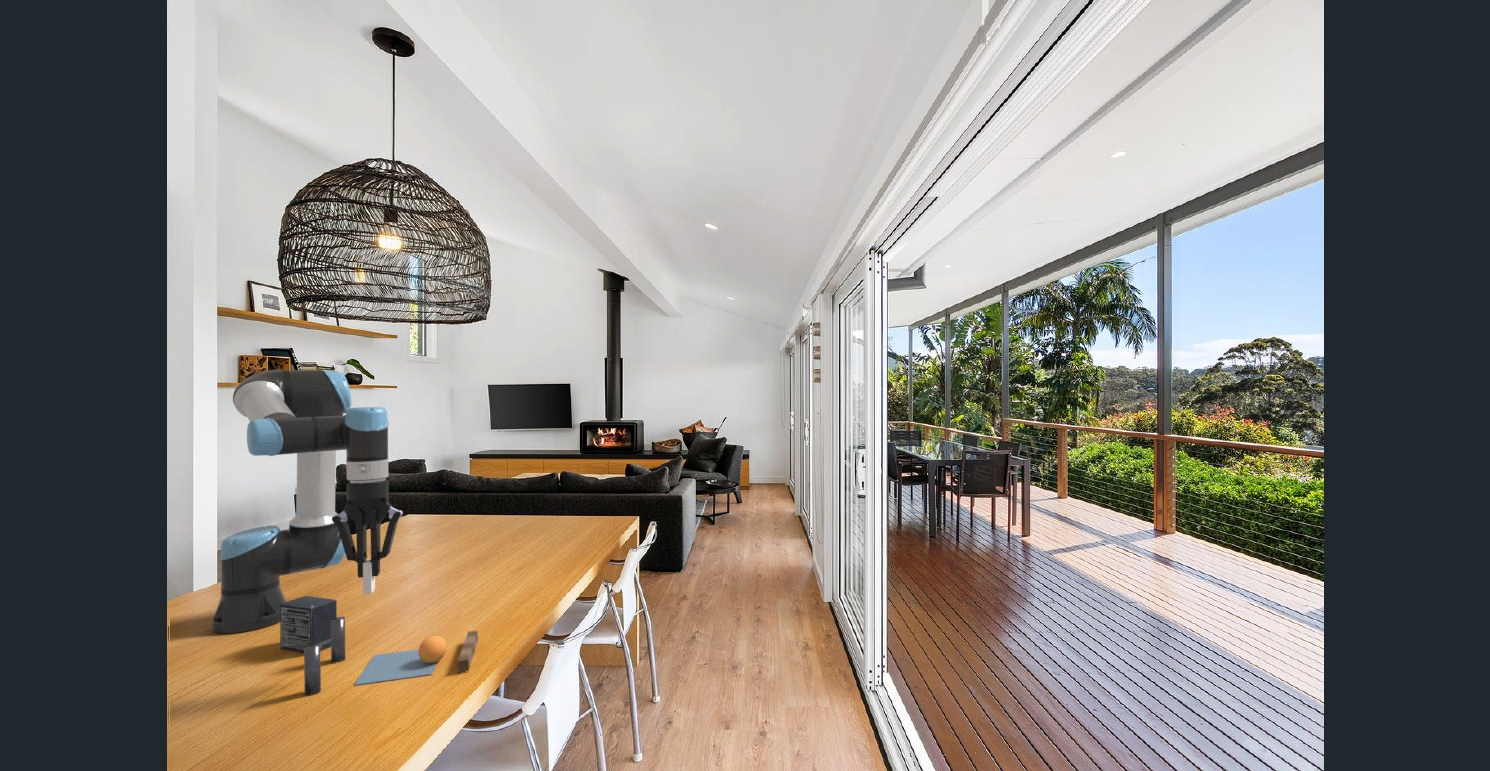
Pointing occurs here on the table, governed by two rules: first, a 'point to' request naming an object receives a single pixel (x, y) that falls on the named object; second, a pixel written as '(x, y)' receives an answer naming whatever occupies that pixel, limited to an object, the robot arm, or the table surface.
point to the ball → (432, 649)
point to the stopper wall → (467, 651)
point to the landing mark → (395, 667)
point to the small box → (306, 622)
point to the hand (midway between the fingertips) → (369, 591)
